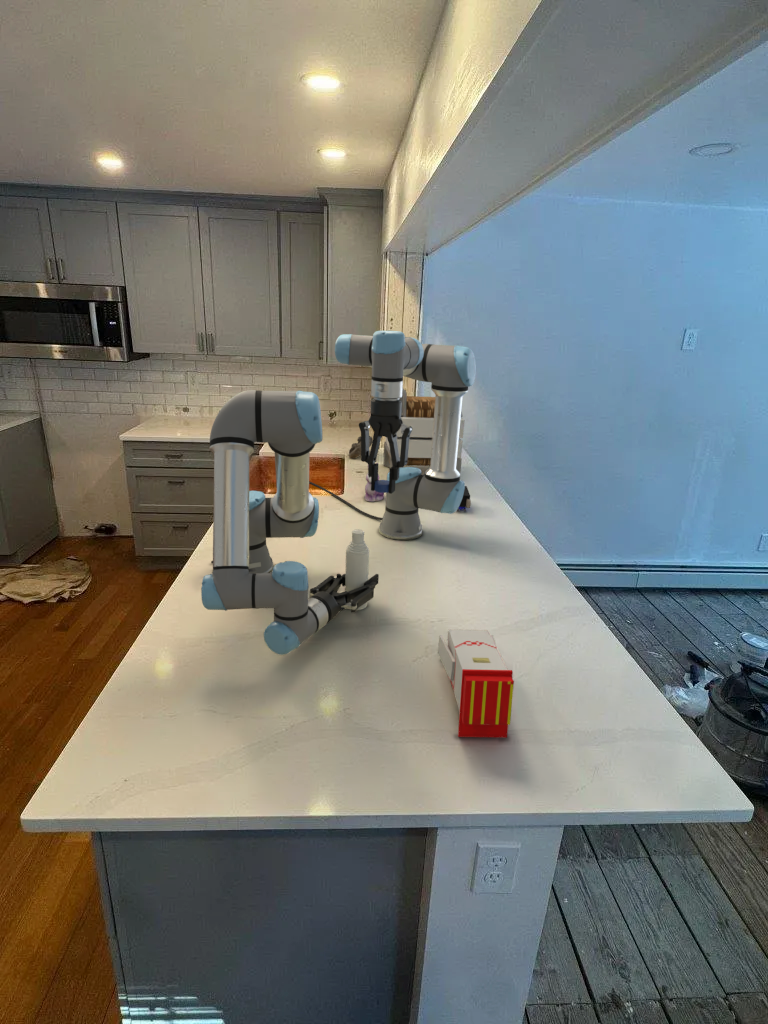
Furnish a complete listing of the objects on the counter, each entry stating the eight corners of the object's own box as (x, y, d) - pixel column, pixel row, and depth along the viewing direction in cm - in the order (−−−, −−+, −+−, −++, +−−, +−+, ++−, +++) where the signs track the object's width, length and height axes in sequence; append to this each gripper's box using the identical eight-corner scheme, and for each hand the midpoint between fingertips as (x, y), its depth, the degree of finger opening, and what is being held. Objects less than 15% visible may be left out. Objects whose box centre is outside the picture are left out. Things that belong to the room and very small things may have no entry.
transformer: (382, 463, 289) (386, 382, 275) (445, 464, 293) (451, 384, 279) (390, 482, 257) (394, 392, 243) (460, 483, 261) (468, 394, 247)
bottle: (348, 611, 148) (349, 536, 141) (342, 600, 153) (343, 528, 146) (369, 608, 150) (372, 534, 142) (363, 598, 155) (366, 526, 148)
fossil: (348, 441, 313) (370, 426, 308) (359, 455, 316) (380, 440, 311) (342, 455, 293) (365, 439, 288) (353, 469, 296) (376, 454, 291)
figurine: (369, 503, 229) (370, 467, 224) (358, 496, 237) (359, 461, 232) (389, 500, 233) (391, 465, 228) (378, 493, 242) (380, 459, 236)
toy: (488, 613, 130) (523, 677, 101) (484, 667, 133) (517, 744, 104) (435, 612, 130) (455, 676, 101) (432, 666, 133) (451, 743, 103)
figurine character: (470, 516, 223) (465, 500, 237) (473, 499, 220) (467, 484, 233) (453, 516, 223) (449, 500, 236) (455, 498, 220) (451, 483, 233)
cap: (389, 493, 142) (389, 485, 141) (372, 491, 143) (373, 483, 142) (392, 488, 146) (393, 480, 145) (376, 486, 147) (376, 479, 146)
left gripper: (285, 614, 140) (337, 579, 159) (350, 637, 131) (396, 597, 150) (284, 587, 137) (337, 554, 156) (351, 608, 129) (398, 571, 148)
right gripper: (347, 397, 136) (346, 489, 144) (415, 404, 130) (410, 500, 138) (359, 392, 142) (358, 481, 150) (425, 399, 137) (419, 491, 145)
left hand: (366, 575), depth 153 cm, fingers closed on bottle, 6 cm apart
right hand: (383, 490), depth 144 cm, fingers closed on cap, 4 cm apart
